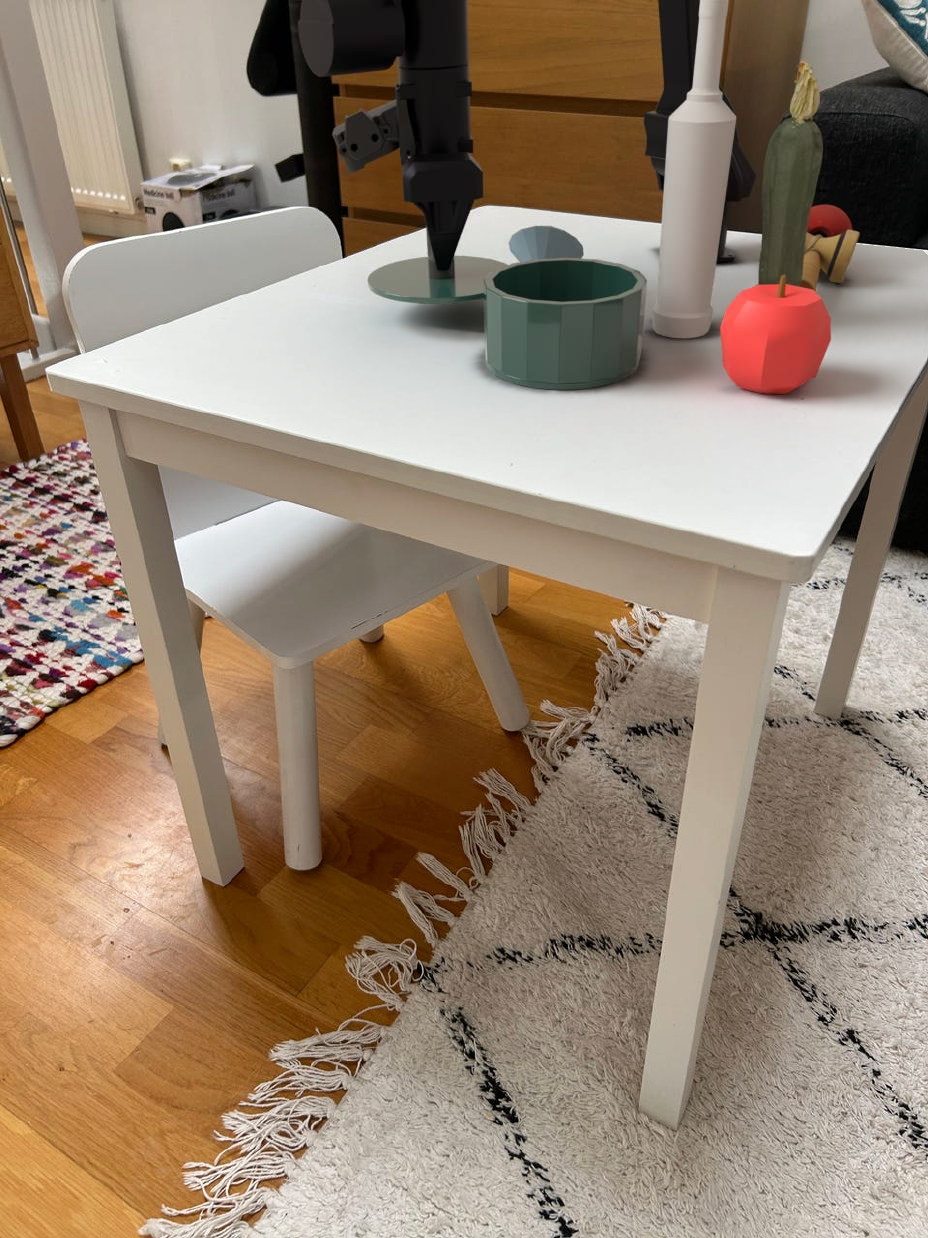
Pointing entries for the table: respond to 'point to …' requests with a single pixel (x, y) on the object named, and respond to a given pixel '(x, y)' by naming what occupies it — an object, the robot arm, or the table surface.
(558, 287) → the pot
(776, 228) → the vegetable
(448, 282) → the lid
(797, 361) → the apple
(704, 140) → the bottle
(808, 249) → the kendama
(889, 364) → the table surface
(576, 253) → the gemstone
